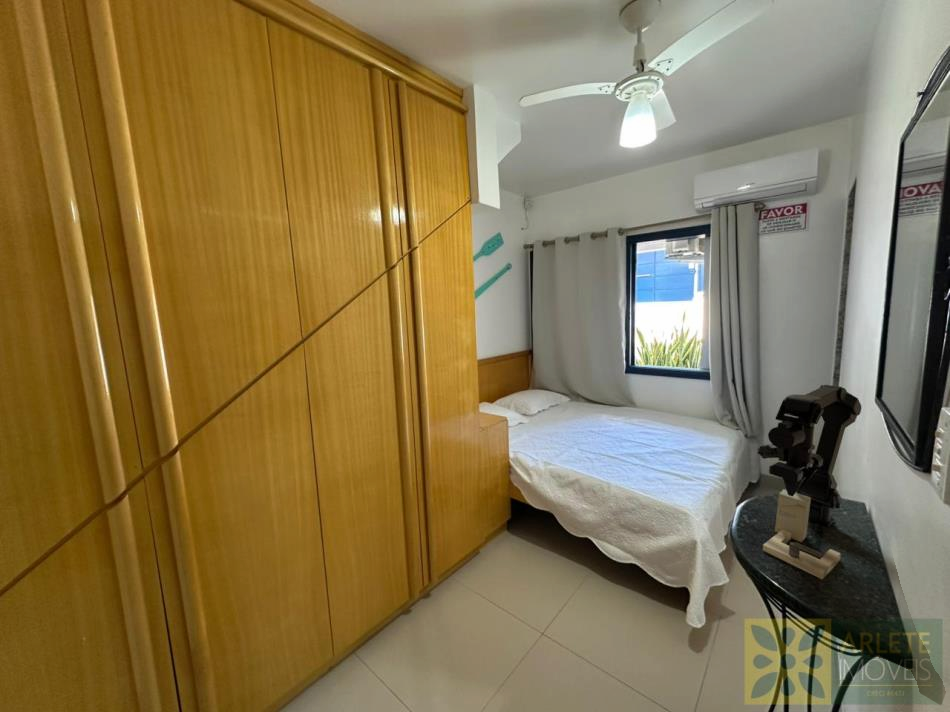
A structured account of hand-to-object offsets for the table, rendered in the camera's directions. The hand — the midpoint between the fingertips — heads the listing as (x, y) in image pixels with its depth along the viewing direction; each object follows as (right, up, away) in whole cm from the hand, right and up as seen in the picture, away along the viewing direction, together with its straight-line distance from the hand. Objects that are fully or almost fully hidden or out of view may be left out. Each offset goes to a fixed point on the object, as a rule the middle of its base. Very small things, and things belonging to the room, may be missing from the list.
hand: (794, 493), depth 100 cm
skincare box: (+1, -13, +2) cm, 13 cm away
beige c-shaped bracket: (-5, -14, -7) cm, 16 cm away
